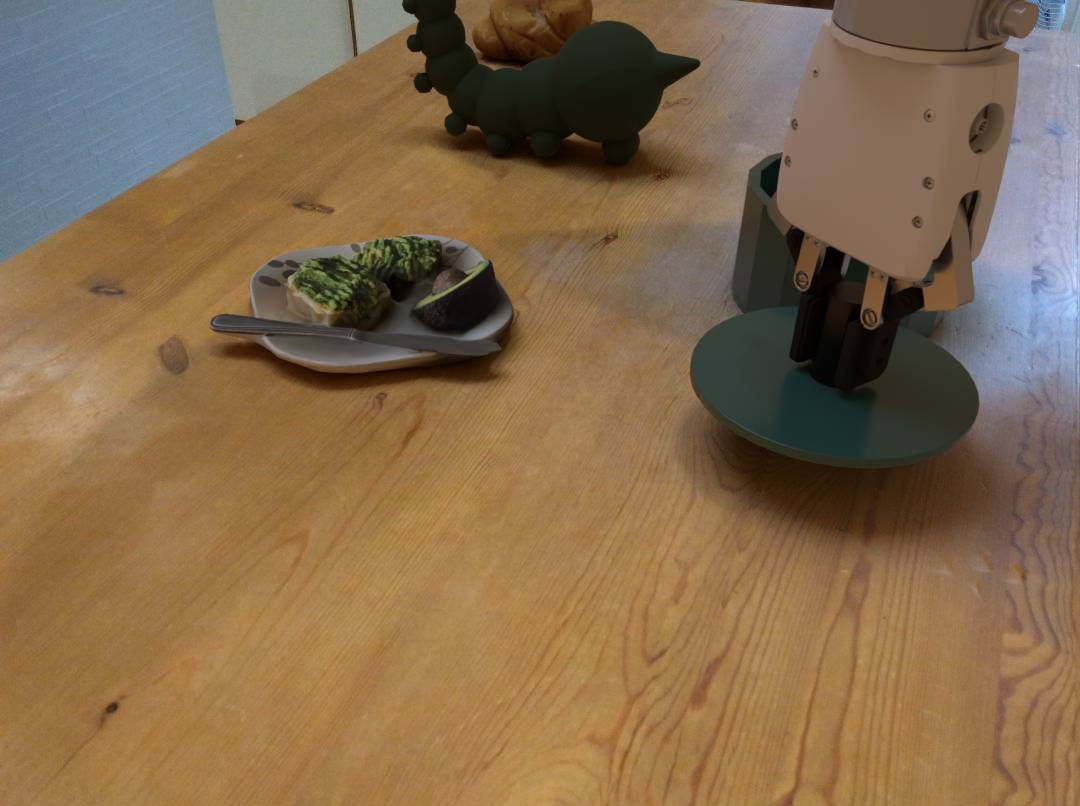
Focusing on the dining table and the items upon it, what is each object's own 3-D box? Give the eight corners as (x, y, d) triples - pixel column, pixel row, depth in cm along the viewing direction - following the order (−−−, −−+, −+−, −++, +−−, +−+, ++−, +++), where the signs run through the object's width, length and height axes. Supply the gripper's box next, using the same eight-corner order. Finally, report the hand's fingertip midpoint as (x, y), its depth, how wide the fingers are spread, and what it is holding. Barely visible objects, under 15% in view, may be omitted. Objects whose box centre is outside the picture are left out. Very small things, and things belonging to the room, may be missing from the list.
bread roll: (465, 66, 112) (463, -18, 106) (483, 39, 119) (482, -41, 114) (586, 75, 110) (590, -9, 105) (597, 47, 118) (601, -33, 112)
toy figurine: (409, 170, 94) (686, 185, 88) (374, -71, 82) (692, -75, 76) (448, 134, 101) (707, 145, 94) (421, -94, 89) (716, -100, 82)
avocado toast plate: (225, 418, 62) (211, 349, 59) (203, 279, 75) (190, 216, 72) (540, 371, 67) (542, 305, 64) (469, 248, 79) (468, 188, 76)
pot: (832, 235, 83) (854, 132, 77) (985, 314, 74) (1023, 203, 68) (689, 281, 76) (703, 172, 71) (838, 374, 67) (867, 257, 62)
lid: (825, 300, 67) (846, 206, 63) (1033, 418, 58) (1074, 317, 54) (631, 369, 60) (641, 268, 56) (832, 516, 51) (861, 408, 47)
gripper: (1143, 40, 43) (1000, 419, 55) (845, -46, 53) (780, 291, 65) (1027, 69, 39) (902, 465, 51) (733, -28, 49) (686, 323, 61)
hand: (835, 365), depth 58 cm, fingers closed on lid, 2 cm apart
